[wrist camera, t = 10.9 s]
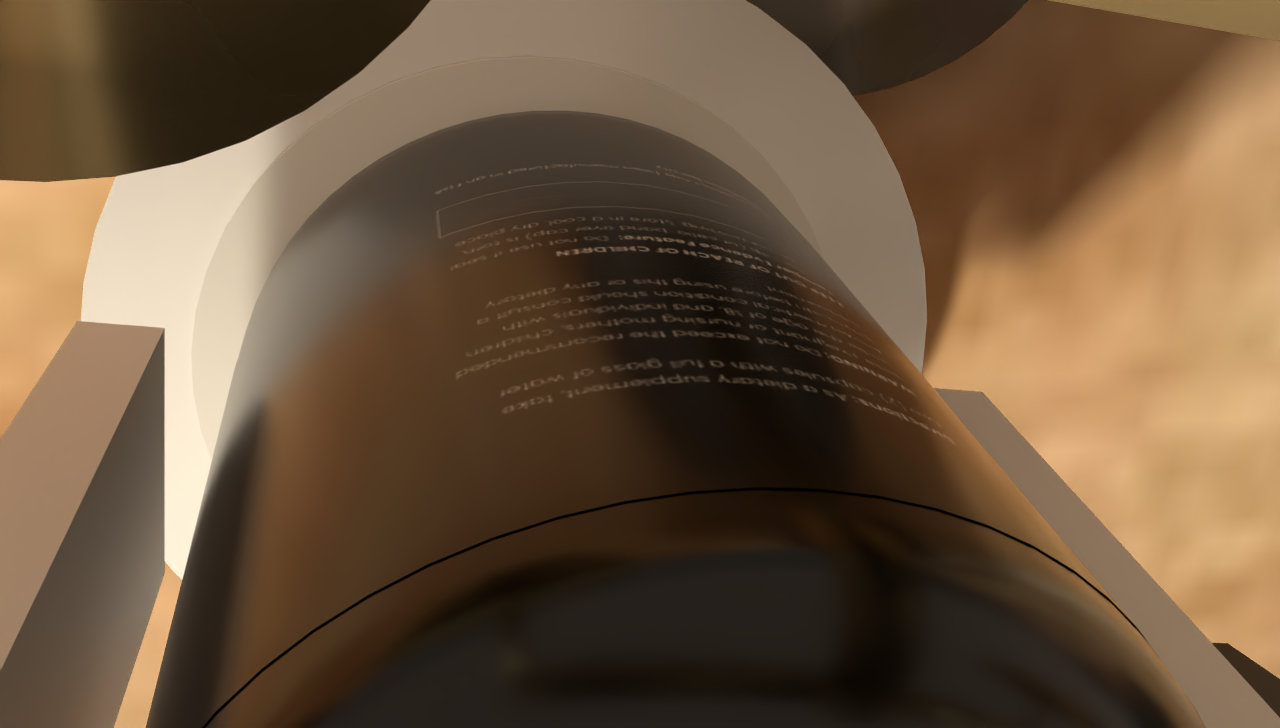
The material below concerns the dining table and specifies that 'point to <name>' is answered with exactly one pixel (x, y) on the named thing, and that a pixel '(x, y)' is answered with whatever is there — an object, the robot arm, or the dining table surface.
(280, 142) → the dish
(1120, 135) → the dining table surface
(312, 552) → the supplement bottle
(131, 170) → the balance
